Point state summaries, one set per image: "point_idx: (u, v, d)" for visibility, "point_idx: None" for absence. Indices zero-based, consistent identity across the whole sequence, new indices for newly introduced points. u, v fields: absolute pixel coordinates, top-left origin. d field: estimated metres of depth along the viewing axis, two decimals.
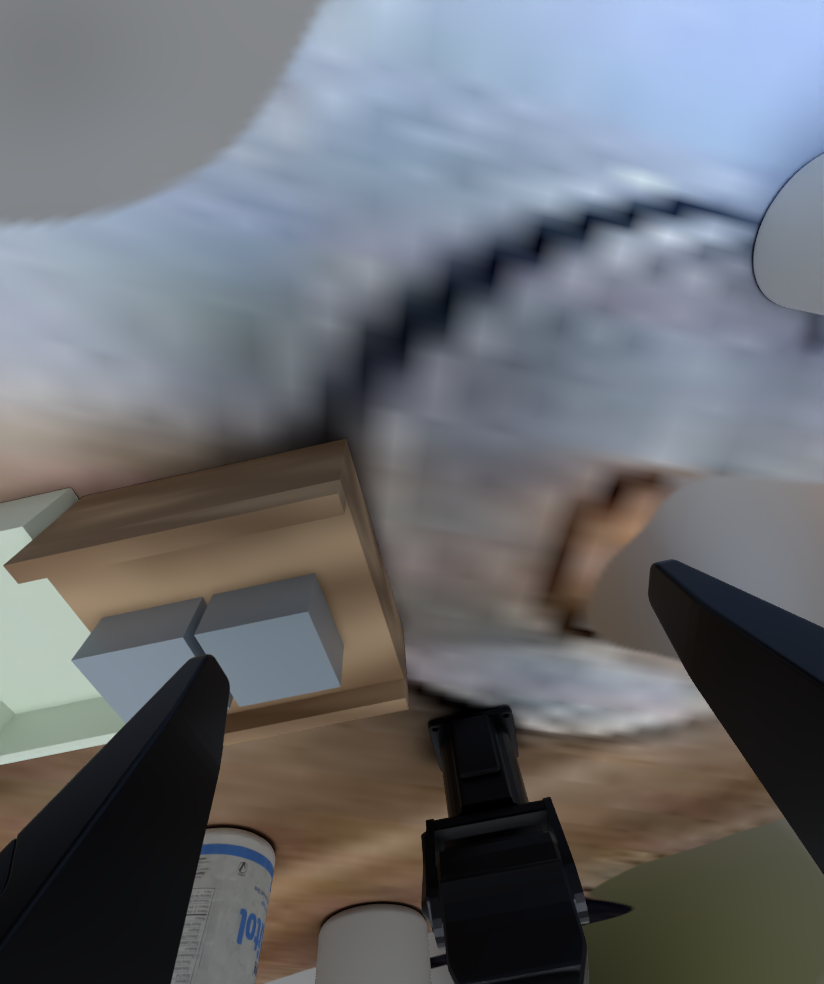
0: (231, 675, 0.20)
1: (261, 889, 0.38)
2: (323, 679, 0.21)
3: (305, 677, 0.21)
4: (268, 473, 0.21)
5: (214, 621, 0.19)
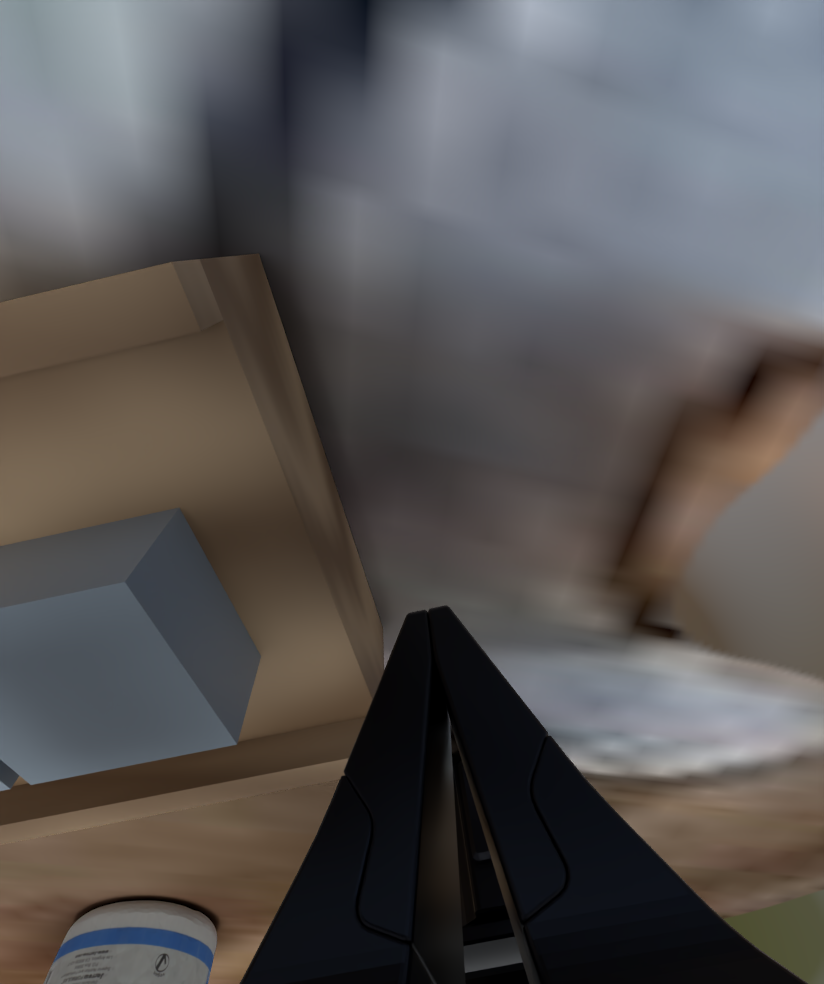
0: None
1: None
2: (196, 731, 0.10)
3: (157, 729, 0.10)
4: None
5: None
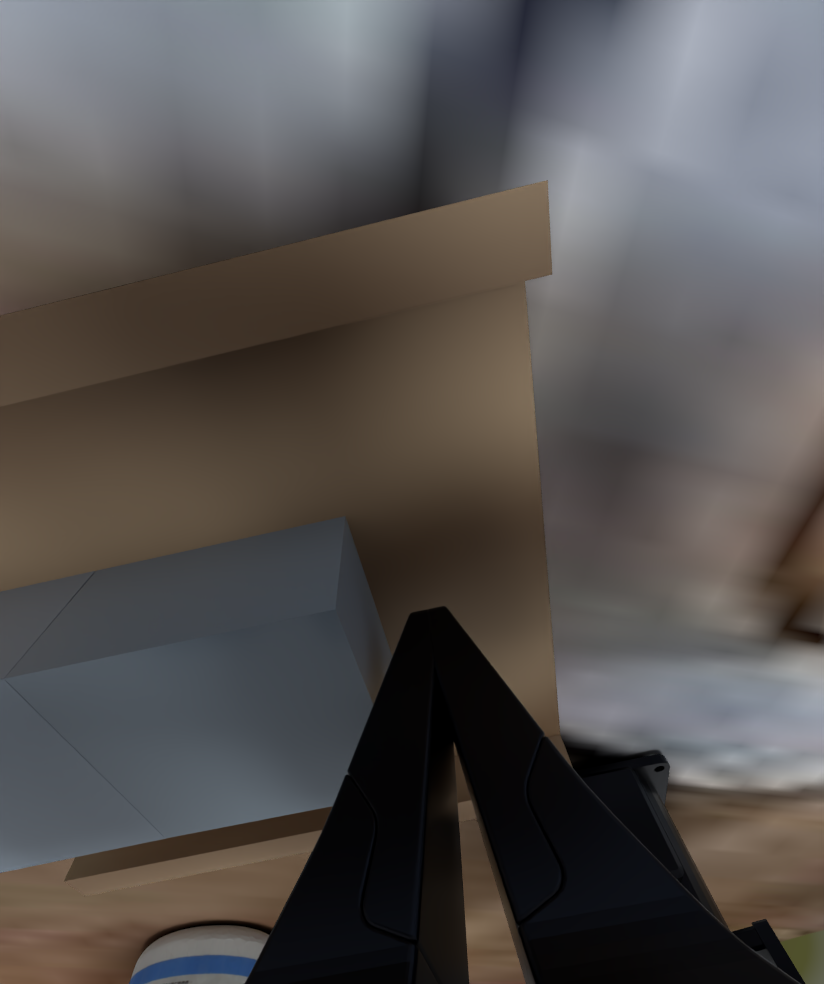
0: (133, 775, 0.08)
1: None
2: None
3: (324, 775, 0.08)
4: None
5: (73, 638, 0.07)
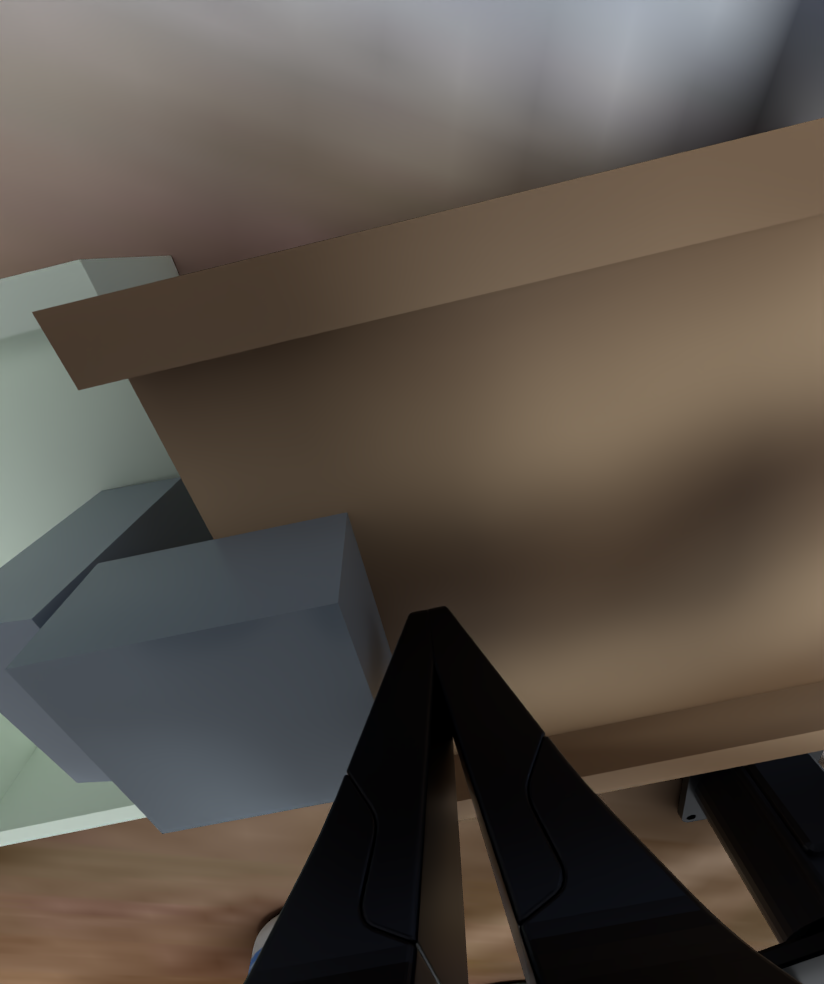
0: (132, 769, 0.08)
1: None
2: None
3: (323, 771, 0.08)
4: None
5: (75, 629, 0.07)
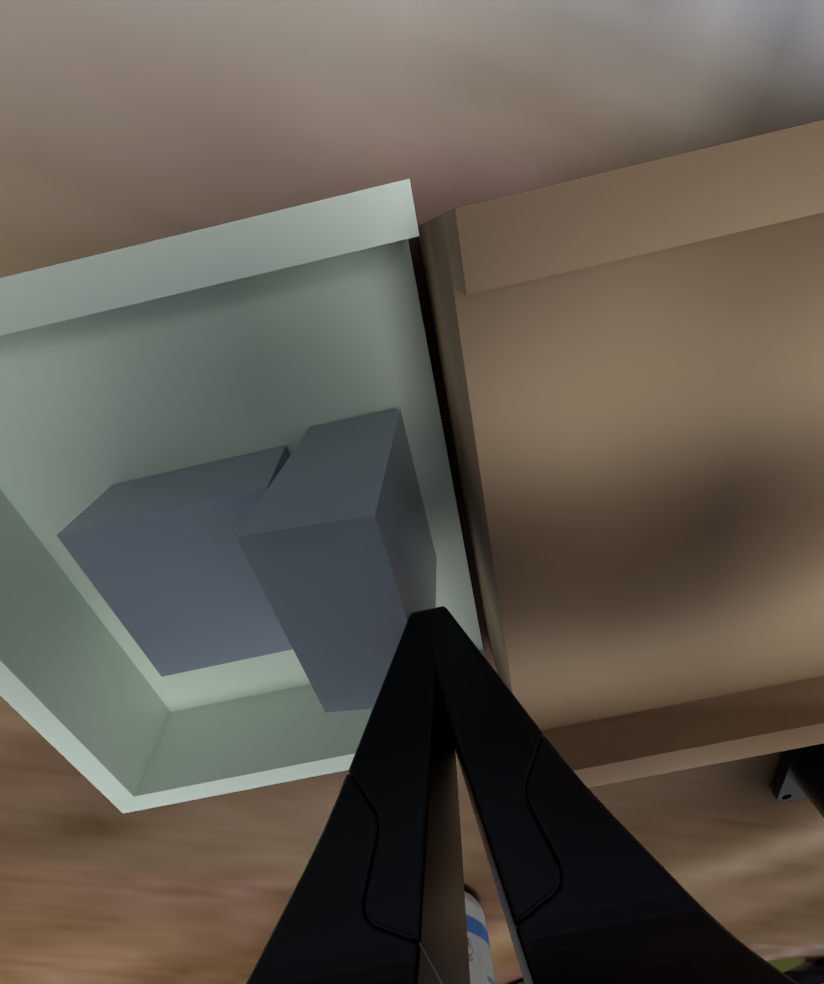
0: None
1: (492, 978, 0.25)
2: None
3: None
4: None
5: (324, 432, 0.11)
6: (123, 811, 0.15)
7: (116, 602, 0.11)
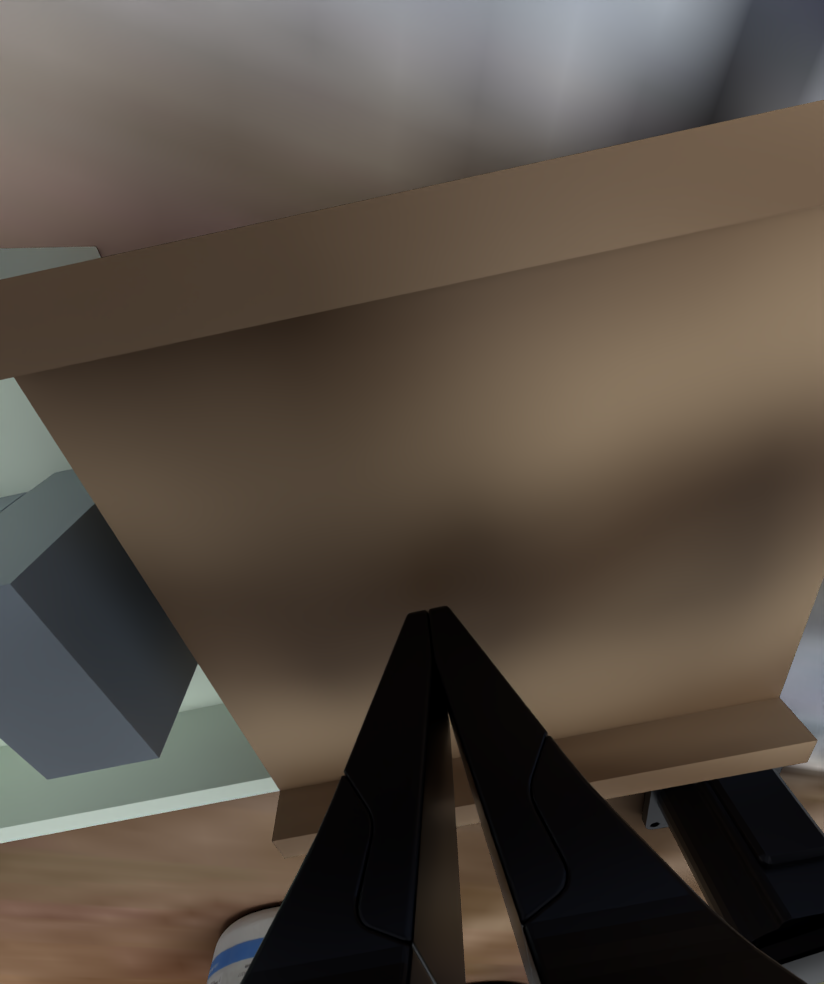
0: None
1: None
2: None
3: None
4: None
5: (59, 481, 0.11)
6: None
7: None
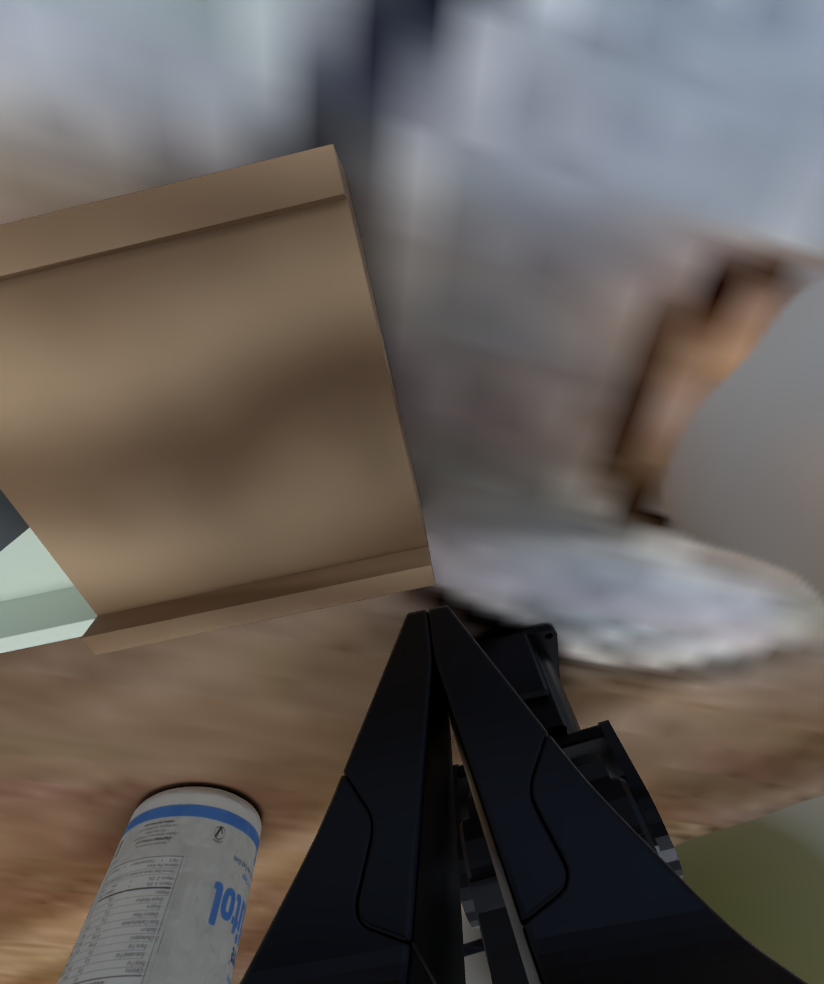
0: None
1: (243, 860, 0.31)
2: None
3: None
4: None
5: None
6: None
7: None
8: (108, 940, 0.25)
